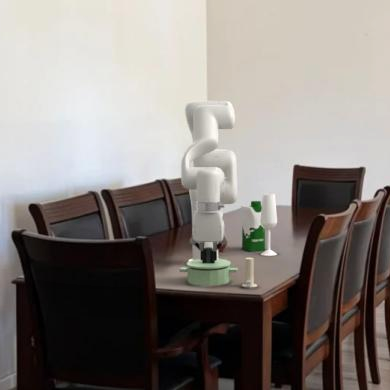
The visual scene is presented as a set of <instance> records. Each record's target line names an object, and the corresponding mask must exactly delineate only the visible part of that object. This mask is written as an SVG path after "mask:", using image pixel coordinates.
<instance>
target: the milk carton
mask: <svg viewBox="0 0 390 390" xmlns="http://www.w3.org/2000/svg"><path fill="white" fill-rule="evenodd" d="M240 209H241V210H240V211H241V237H242V238H241V239H242V240H241V249H242V250H244V251H247V252H258V251H266V229H265V228H264V227H263V226H262V224H261V223H260V220H261V209H262V200H251V201H250V204H247V205H246V204H245V205H240Z"/></svg>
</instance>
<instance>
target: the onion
mask: <svg viewBox="0 0 390 390" xmlns="http://www.w3.org/2000/svg"><path fill="white" fill-rule="evenodd" d="M222 241H223V240H222ZM222 241H220V242H222ZM220 242H218V243H220ZM227 245H228V243H227V244H225V245H223V246H221V247H220V248H219V249H218V252H222V251H223V250H224V249H225V248H226V247H227Z"/></svg>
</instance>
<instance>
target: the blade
mask: <svg viewBox="0 0 390 390" xmlns="http://www.w3.org/2000/svg"><path fill="white" fill-rule="evenodd" d="M244 259H245V263H244V264H245V267H244V268H245V272H244V273H245V275H244V276H245V277H244V278H245V283H242V284H241V287H243V288H250V289H251V288H257V287H258V284H257V283H255V282H254V281H255V279H254V278H255V277H254V276H255V275H254V270H255V266H254V263H255V262H254V261H255V260H254V258H253V257H245V258H244Z"/></svg>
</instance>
